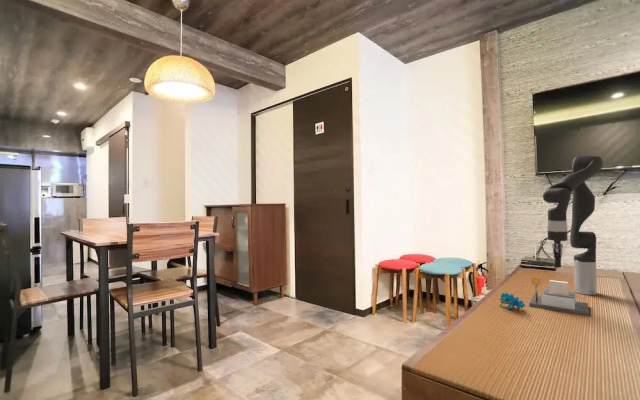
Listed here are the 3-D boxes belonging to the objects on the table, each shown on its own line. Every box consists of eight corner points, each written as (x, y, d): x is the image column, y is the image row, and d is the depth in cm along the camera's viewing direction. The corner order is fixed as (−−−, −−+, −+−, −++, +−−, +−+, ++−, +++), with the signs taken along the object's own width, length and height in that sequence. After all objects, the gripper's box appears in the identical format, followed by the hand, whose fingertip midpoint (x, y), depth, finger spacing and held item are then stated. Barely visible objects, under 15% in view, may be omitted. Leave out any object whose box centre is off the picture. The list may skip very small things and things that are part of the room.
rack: (533, 298, 161) (533, 273, 161) (588, 306, 147) (587, 279, 148) (529, 306, 148) (529, 279, 148) (588, 316, 134) (588, 286, 134)
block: (550, 300, 151) (549, 279, 151) (568, 303, 146) (568, 282, 146) (549, 302, 149) (549, 280, 149) (568, 305, 144) (567, 283, 145)
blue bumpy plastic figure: (530, 307, 141) (516, 292, 139) (525, 318, 139) (511, 303, 137) (508, 303, 151) (495, 290, 150) (503, 314, 149) (489, 300, 147)
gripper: (548, 229, 156) (549, 264, 155) (546, 230, 146) (547, 268, 145) (567, 229, 151) (568, 266, 151) (566, 231, 141) (567, 270, 140)
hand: (558, 267), depth 148 cm, fingers closed
